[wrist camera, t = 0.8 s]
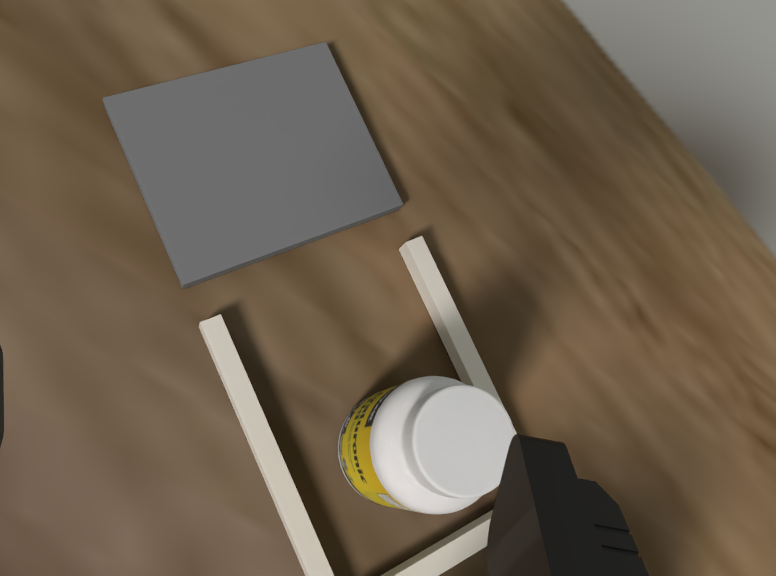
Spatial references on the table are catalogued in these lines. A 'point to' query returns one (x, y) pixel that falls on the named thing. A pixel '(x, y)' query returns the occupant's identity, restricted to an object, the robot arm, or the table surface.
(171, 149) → the mat
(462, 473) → the supplement bottle
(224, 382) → the white u-shaped frame
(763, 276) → the table surface
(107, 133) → the table surface
